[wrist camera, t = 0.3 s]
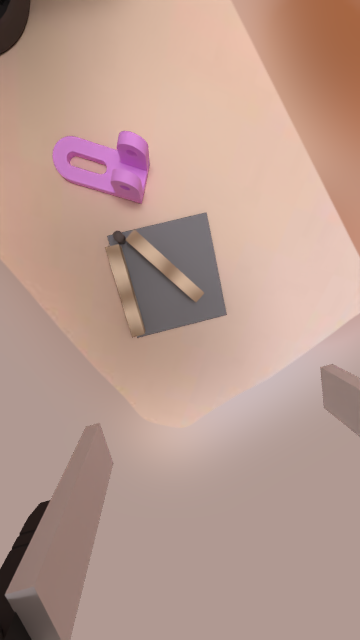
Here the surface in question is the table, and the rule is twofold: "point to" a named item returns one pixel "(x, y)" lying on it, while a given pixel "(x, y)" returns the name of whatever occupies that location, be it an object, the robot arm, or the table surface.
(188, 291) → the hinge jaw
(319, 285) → the table surface
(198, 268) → the mat
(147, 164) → the bracket
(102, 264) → the table surface
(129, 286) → the tongs base
